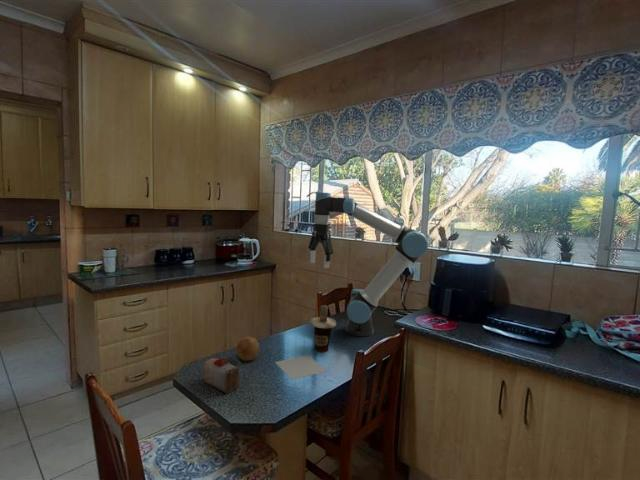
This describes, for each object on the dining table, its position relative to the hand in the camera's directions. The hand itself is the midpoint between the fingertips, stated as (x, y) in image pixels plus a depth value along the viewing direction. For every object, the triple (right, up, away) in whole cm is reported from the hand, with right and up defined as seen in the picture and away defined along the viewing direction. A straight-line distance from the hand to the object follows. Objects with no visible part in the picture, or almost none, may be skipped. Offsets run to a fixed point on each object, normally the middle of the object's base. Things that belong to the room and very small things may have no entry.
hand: (319, 265), depth 176 cm
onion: (-31, -38, -28) cm, 57 cm away
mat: (-8, -40, -33) cm, 52 cm away
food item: (-36, -40, -49) cm, 73 cm away
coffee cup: (+1, -39, -15) cm, 42 cm away
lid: (+2, -26, -16) cm, 30 cm away
